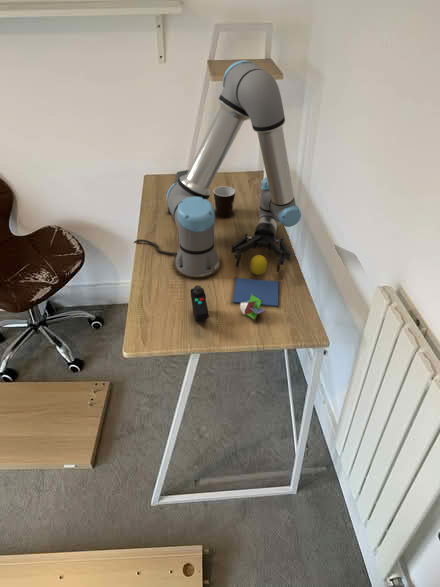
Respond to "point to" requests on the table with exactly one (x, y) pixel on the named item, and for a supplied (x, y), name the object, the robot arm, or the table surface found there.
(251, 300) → the geometric puzzle
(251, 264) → the lemon
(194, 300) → the controller
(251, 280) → the blue mat
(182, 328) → the table surface
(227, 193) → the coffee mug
